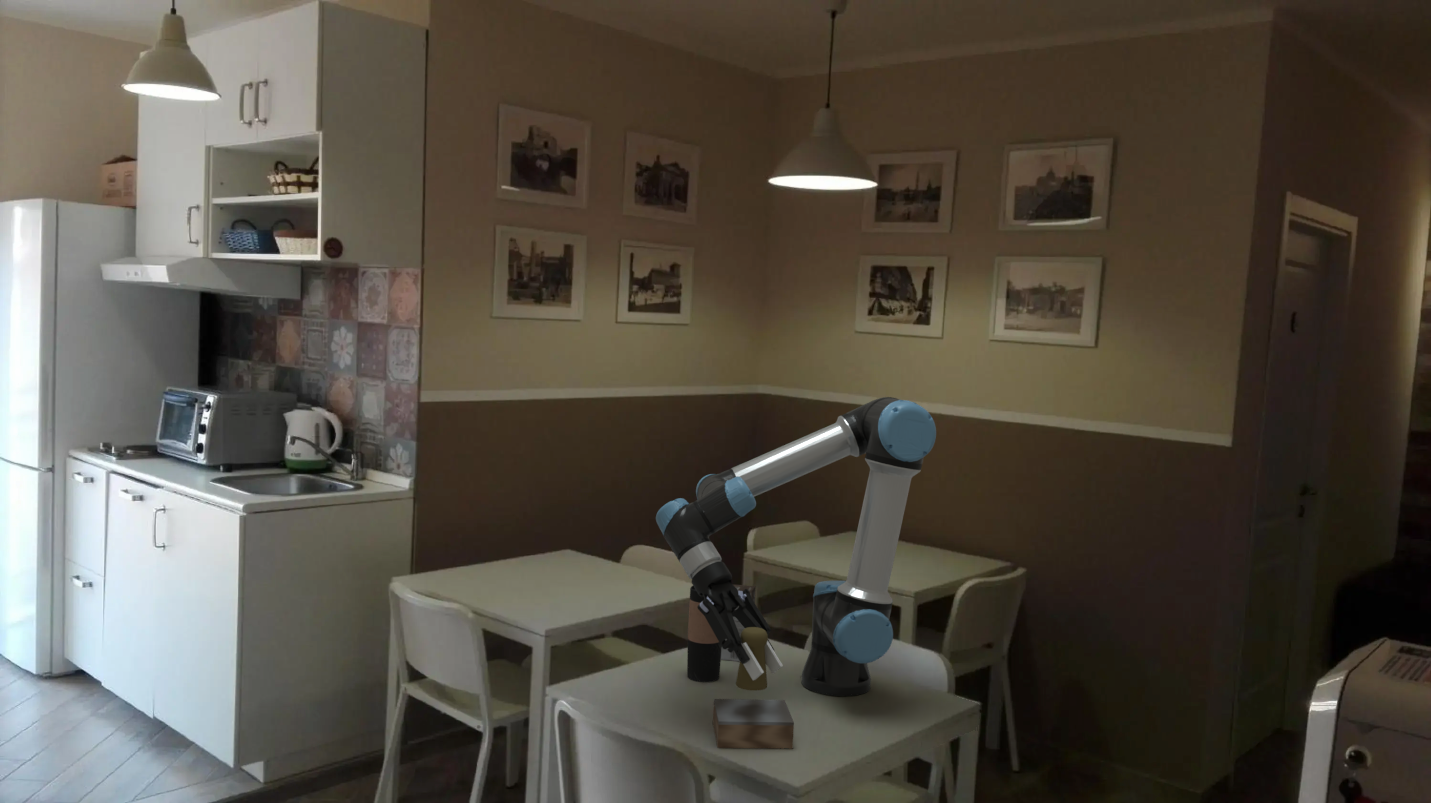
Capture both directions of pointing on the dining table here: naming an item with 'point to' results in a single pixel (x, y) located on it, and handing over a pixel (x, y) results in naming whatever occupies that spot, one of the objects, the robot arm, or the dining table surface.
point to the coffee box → (737, 625)
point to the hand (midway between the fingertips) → (768, 672)
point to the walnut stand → (752, 723)
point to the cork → (756, 643)
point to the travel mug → (701, 644)
